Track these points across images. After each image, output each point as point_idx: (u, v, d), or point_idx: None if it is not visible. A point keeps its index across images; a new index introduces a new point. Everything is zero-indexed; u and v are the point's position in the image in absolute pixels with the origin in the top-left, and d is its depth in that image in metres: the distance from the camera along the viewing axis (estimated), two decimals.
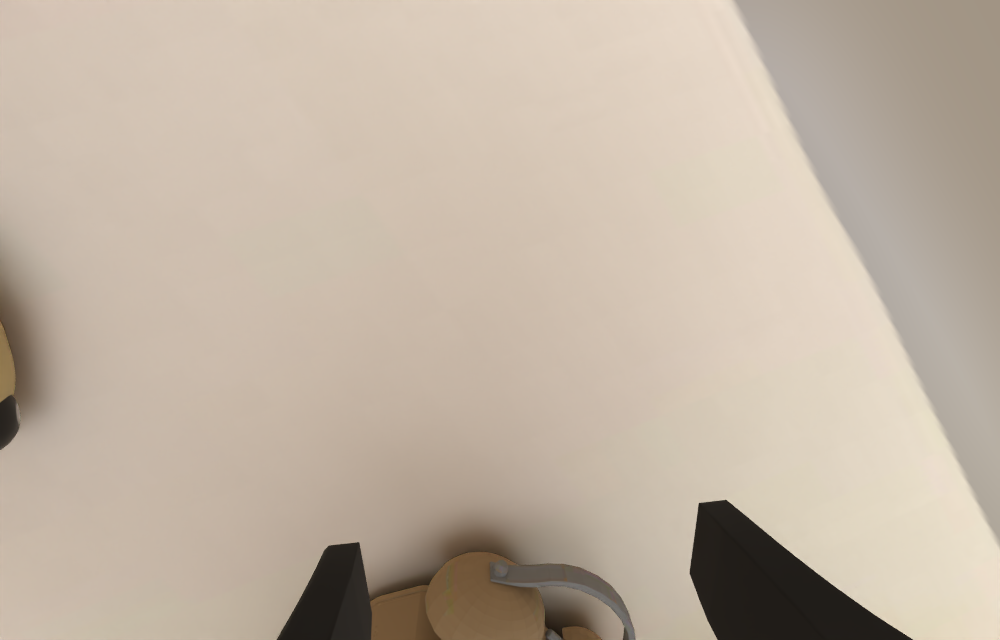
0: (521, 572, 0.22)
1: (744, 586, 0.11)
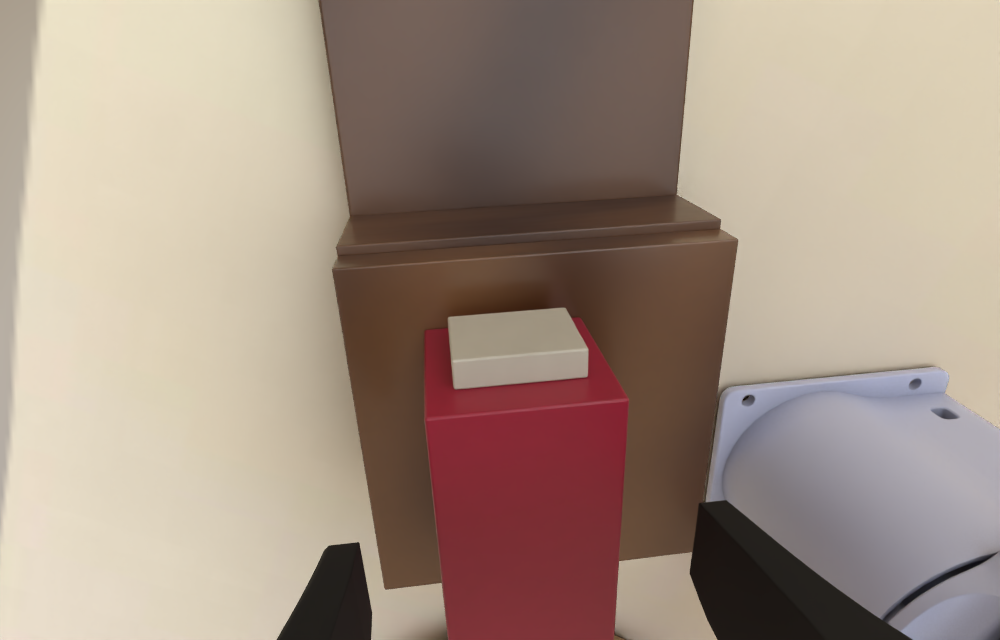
0: None
1: (745, 586, 0.11)
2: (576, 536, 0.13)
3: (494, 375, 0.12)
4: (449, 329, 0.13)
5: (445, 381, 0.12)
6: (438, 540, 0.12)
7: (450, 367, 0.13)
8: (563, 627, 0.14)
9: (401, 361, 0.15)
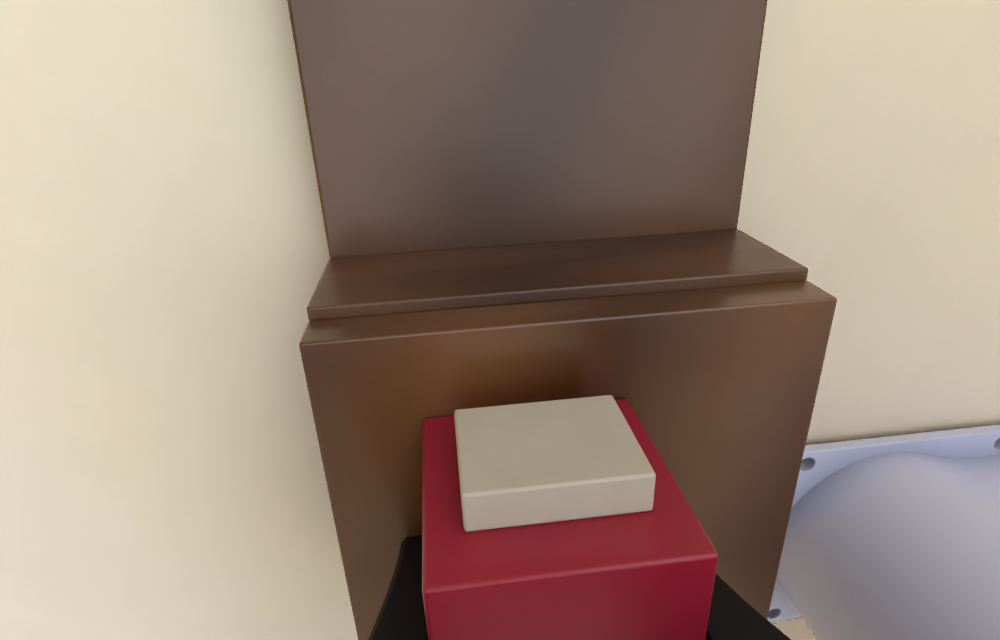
0: None
1: None
2: None
3: (521, 512, 0.08)
4: (456, 433, 0.10)
5: (452, 515, 0.09)
6: None
7: (458, 487, 0.09)
8: None
9: (393, 457, 0.11)
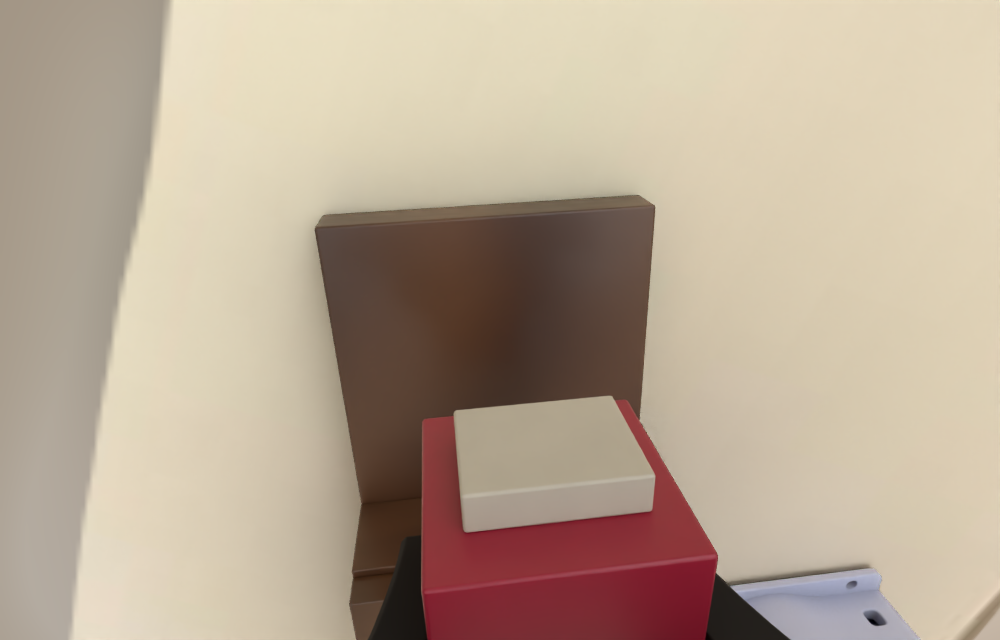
0: None
1: None
2: None
3: (521, 513, 0.08)
4: (456, 433, 0.10)
5: (451, 516, 0.09)
6: None
7: (457, 488, 0.09)
8: None
9: None
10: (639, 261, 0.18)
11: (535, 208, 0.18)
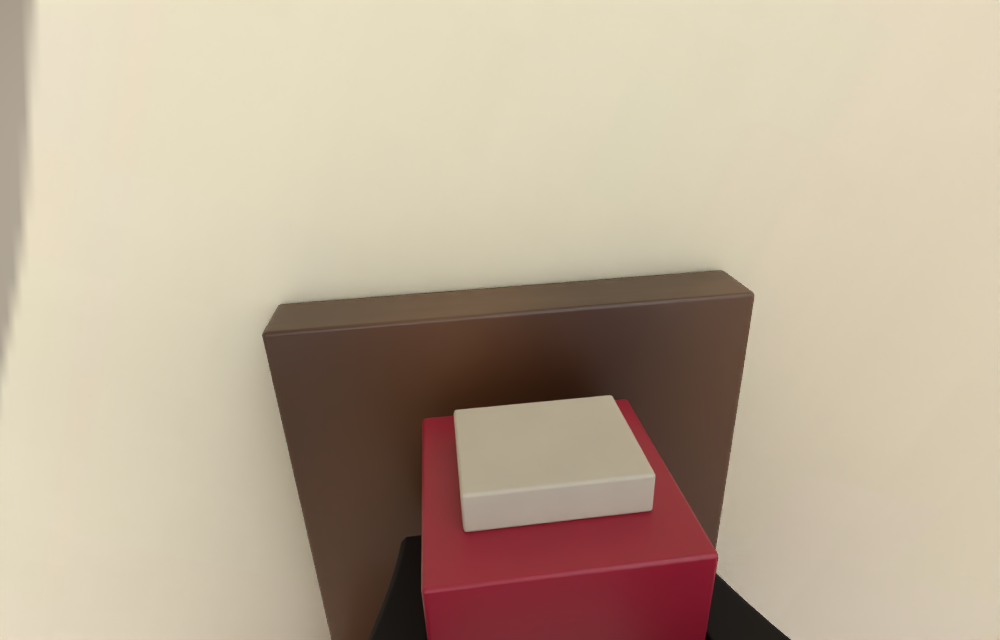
0: None
1: None
2: None
3: (521, 512, 0.08)
4: (456, 433, 0.09)
5: (452, 515, 0.09)
6: None
7: (458, 487, 0.09)
8: None
9: None
10: (727, 367, 0.13)
11: (582, 296, 0.12)
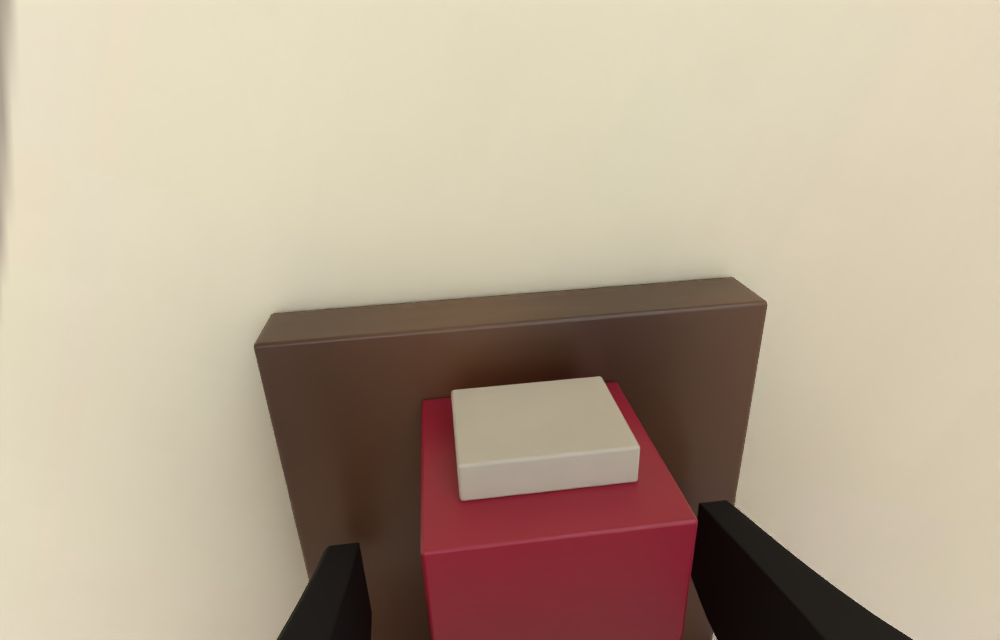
0: None
1: (745, 585, 0.11)
2: None
3: (513, 482, 0.09)
4: (453, 410, 0.10)
5: (449, 486, 0.09)
6: None
7: (455, 462, 0.10)
8: None
9: None
10: (738, 378, 0.12)
11: (587, 304, 0.12)
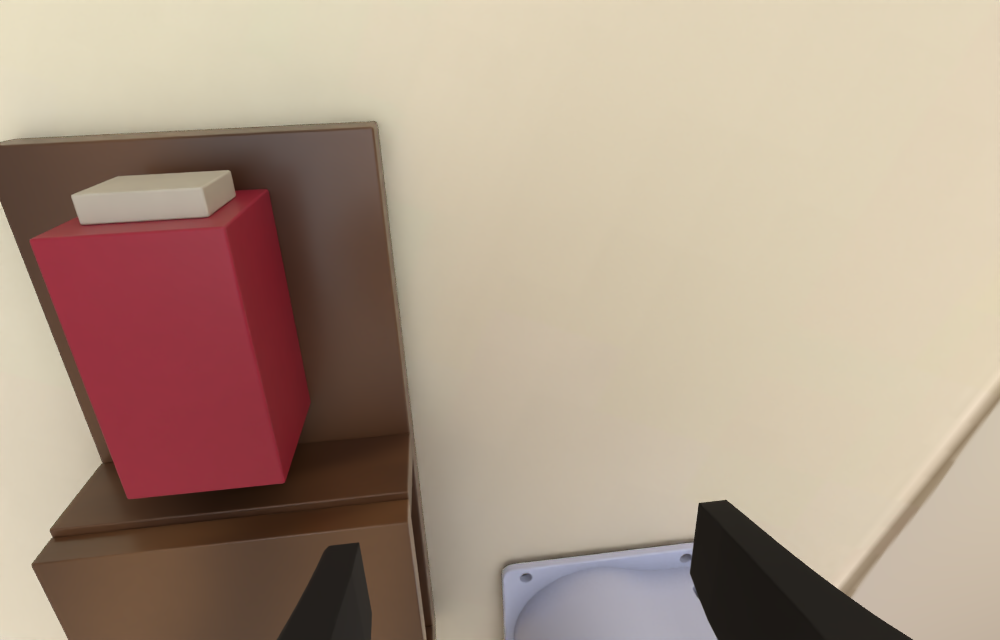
0: None
1: (745, 586, 0.11)
2: (212, 368, 0.14)
3: (115, 211, 0.13)
4: (104, 182, 0.14)
5: (82, 222, 0.14)
6: (77, 367, 0.14)
7: None
8: (228, 464, 0.15)
9: (113, 626, 0.17)
10: (366, 191, 0.17)
11: (244, 131, 0.16)
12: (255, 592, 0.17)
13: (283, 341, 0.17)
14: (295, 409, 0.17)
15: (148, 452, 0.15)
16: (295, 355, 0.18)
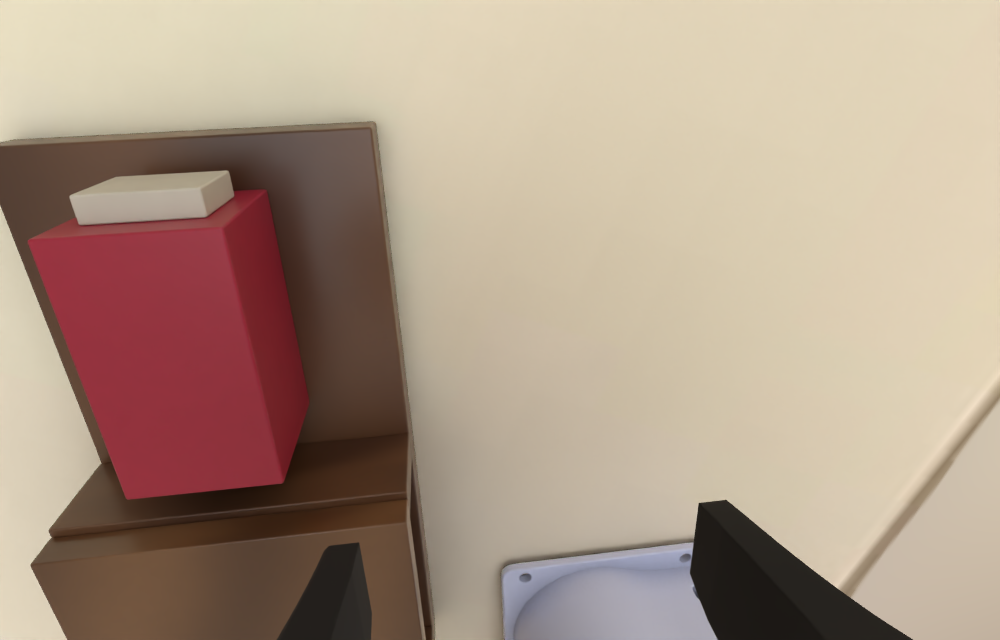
0: None
1: (744, 586, 0.11)
2: (211, 368, 0.14)
3: (113, 211, 0.13)
4: (102, 182, 0.14)
5: (80, 222, 0.14)
6: (76, 367, 0.14)
7: None
8: (226, 464, 0.15)
9: (112, 626, 0.17)
10: (364, 191, 0.17)
11: (242, 131, 0.16)
12: (254, 592, 0.17)
13: (282, 341, 0.17)
14: (294, 409, 0.17)
15: (147, 452, 0.15)
16: (293, 355, 0.18)
